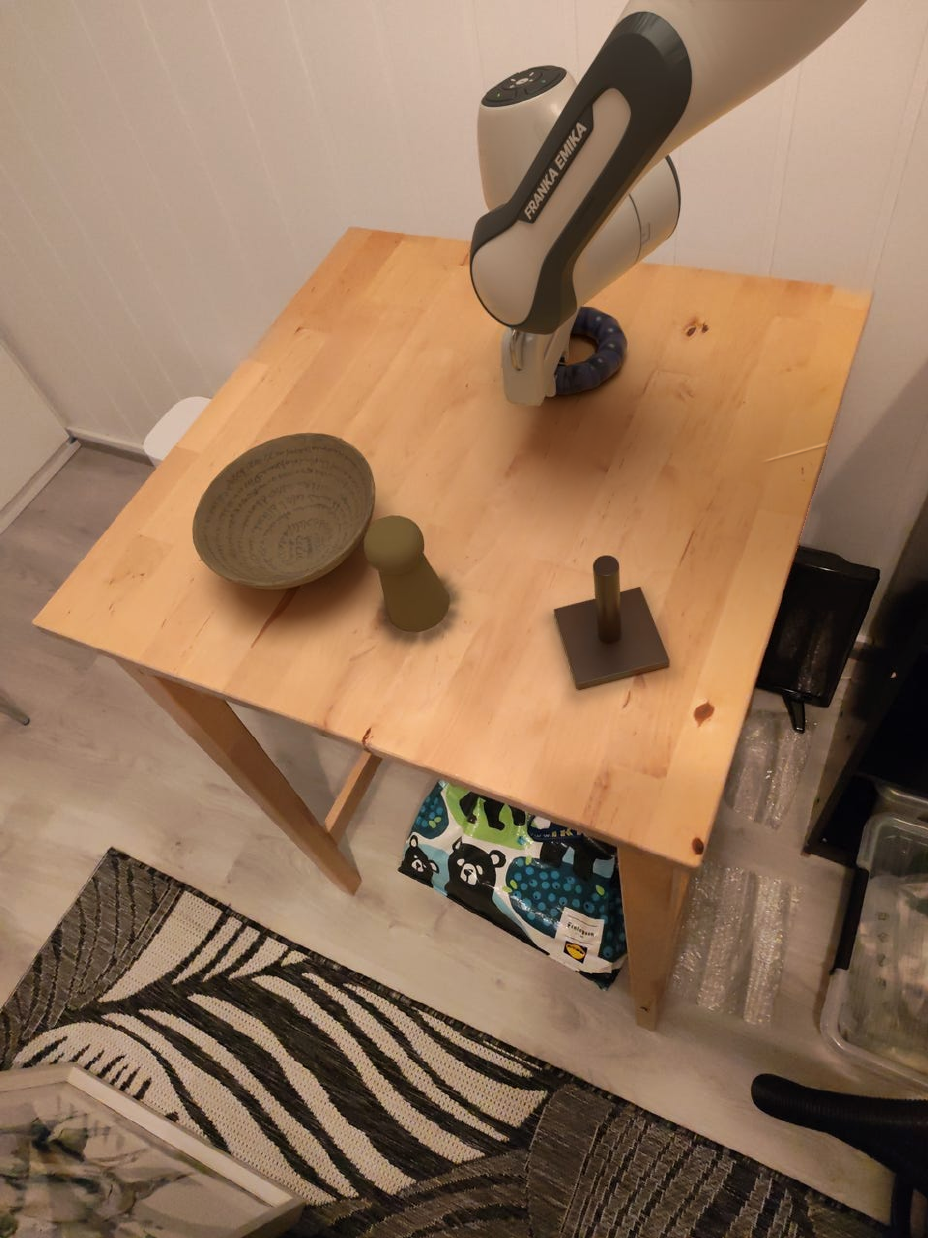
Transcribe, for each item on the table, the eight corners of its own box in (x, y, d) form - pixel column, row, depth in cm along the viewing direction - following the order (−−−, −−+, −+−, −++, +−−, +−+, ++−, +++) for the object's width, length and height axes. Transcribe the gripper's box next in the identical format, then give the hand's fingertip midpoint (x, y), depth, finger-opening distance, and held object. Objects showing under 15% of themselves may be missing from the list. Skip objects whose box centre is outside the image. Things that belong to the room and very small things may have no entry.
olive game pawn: (458, 584, 77) (434, 509, 68) (436, 637, 74) (408, 566, 65) (400, 574, 79) (370, 499, 70) (377, 625, 76) (342, 554, 67)
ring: (606, 310, 95) (606, 288, 92) (641, 381, 87) (641, 358, 85) (499, 340, 95) (496, 318, 93) (524, 412, 88) (521, 391, 85)
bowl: (191, 607, 81) (152, 560, 75) (273, 473, 90) (244, 420, 83) (352, 645, 75) (325, 597, 69) (423, 498, 84) (405, 443, 77)
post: (640, 592, 73) (640, 513, 64) (669, 666, 68) (674, 593, 59) (554, 615, 73) (542, 539, 64) (577, 690, 69) (568, 620, 59)
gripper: (543, 337, 70) (556, 450, 82) (600, 201, 80) (605, 319, 91) (476, 332, 72) (498, 443, 84) (539, 200, 82) (551, 316, 93)
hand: (554, 377), depth 88 cm, fingers closed on ring, 3 cm apart
